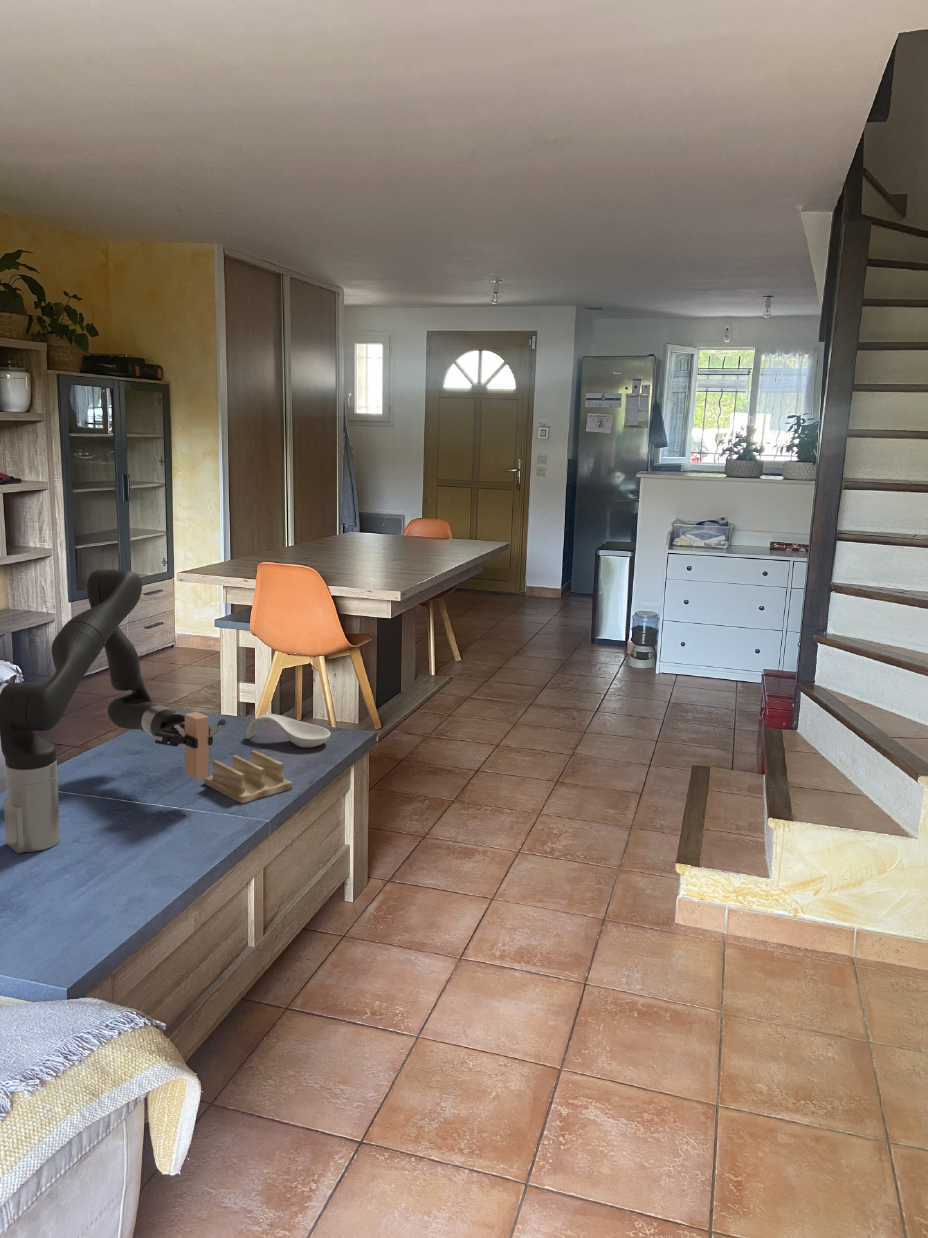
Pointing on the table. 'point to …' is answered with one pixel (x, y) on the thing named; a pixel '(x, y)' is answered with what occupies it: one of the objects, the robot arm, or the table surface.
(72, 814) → the table surface
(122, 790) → the table surface
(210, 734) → the tactical tomahawk
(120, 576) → the robot arm
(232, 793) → the wooden slotted stand
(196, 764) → the clay slat
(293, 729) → the spoon rest
